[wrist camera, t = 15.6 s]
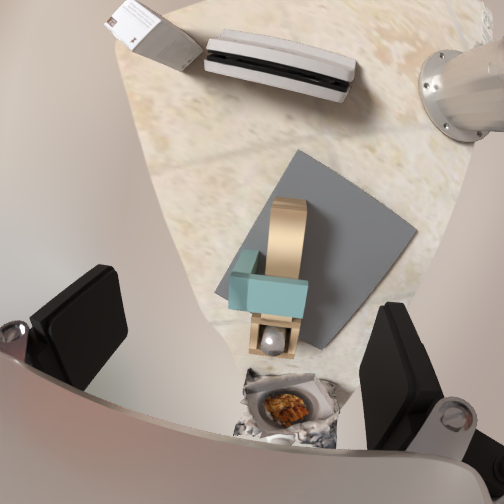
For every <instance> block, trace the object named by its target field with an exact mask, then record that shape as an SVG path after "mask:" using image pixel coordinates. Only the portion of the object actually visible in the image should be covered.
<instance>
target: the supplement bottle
mask: <svg viewBox="0 0 504 504" xmlns="http://www.w3.org/2000/svg"><path fill="white" fill-rule="evenodd" d="M295 436H296V435H282V434H276V435H272V436H268V437H265V439H266V441H267V442H268V443H273V444H281V445H290V446H291V445H292V444H293V443H294V442H295Z"/></svg>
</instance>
